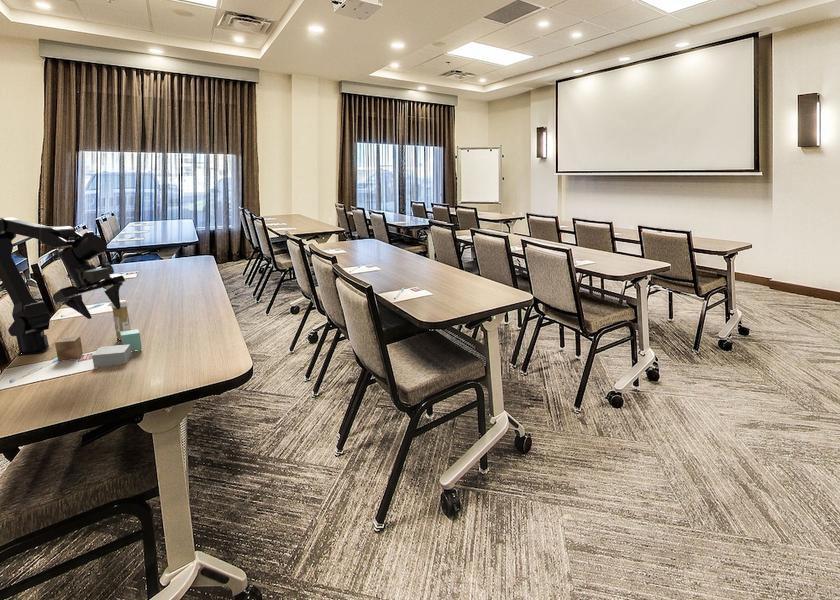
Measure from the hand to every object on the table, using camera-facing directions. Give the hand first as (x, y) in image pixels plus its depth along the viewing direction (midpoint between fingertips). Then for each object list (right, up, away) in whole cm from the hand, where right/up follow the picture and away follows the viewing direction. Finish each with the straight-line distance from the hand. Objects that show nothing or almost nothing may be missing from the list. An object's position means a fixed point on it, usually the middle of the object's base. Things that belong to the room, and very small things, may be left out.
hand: (105, 313), depth 141 cm
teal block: (+2, -12, +10) cm, 16 cm away
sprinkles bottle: (-7, -10, +21) cm, 24 cm away
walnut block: (-12, -14, +2) cm, 18 cm away
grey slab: (+3, -15, 0) cm, 15 cm away
